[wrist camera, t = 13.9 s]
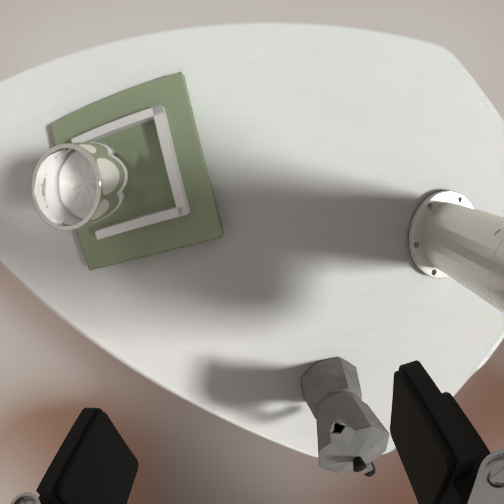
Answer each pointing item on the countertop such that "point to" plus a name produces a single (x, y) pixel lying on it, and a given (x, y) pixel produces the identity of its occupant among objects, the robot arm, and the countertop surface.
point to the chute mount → (163, 168)
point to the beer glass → (87, 182)
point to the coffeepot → (342, 418)
